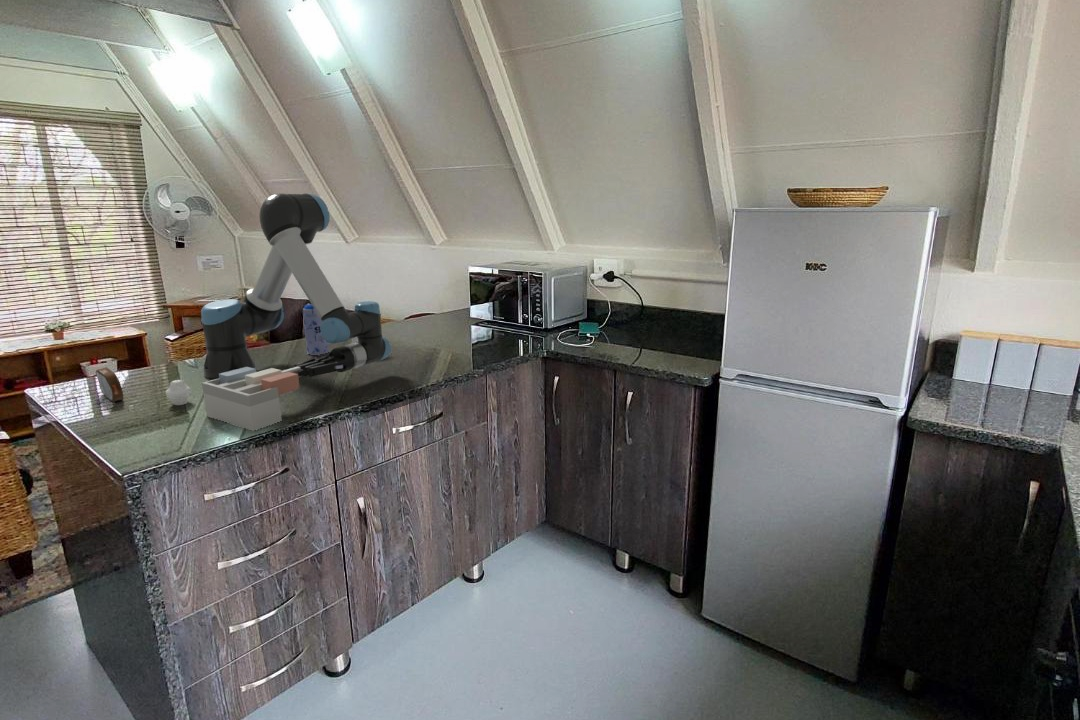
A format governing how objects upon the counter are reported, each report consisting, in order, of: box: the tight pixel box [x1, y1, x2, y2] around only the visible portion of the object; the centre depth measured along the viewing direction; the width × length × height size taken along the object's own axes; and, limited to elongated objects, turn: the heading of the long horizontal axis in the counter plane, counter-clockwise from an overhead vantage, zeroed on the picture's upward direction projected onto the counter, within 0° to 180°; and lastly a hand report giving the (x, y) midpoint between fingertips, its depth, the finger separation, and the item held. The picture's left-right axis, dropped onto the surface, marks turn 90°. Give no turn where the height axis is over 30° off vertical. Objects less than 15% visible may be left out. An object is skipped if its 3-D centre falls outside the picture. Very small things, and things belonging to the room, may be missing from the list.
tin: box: [95, 367, 124, 403], centre depth 168 cm, size 15×3×8 cm, turn 48°
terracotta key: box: [261, 372, 301, 396], centre depth 153 cm, size 4×8×4 cm, turn 149°
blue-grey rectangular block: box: [219, 367, 257, 384], centre depth 157 cm, size 4×8×4 cm, turn 149°
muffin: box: [165, 379, 192, 406], centre depth 164 cm, size 6×6×7 cm
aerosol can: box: [302, 301, 330, 356], centre depth 215 cm, size 8×8×20 cm
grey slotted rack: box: [201, 378, 282, 432], centre depth 152 cm, size 20×8×9 cm, turn 59°
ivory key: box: [245, 367, 282, 386], centre depth 156 cm, size 4×8×4 cm, turn 149°
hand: (279, 377), depth 160 cm, fingers closed
